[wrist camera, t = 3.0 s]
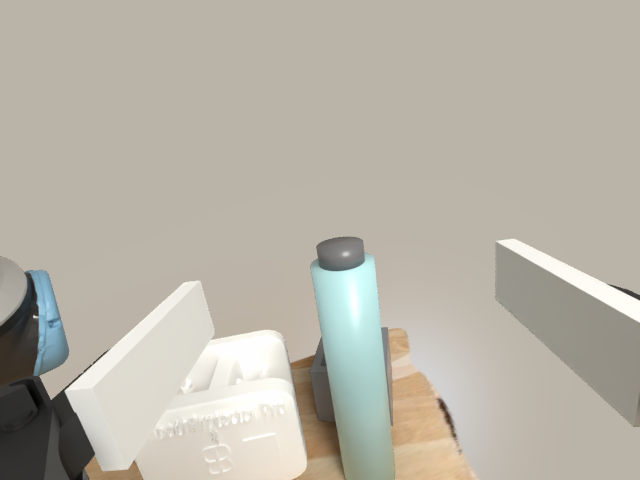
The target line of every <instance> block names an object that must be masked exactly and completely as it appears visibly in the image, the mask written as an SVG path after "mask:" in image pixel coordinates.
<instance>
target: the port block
mask: <svg viewBox="0 0 640 480" xmlns="http://www.w3.org/2000/svg"><path fill="white" fill-rule="evenodd" d="M381 332H382V342H383V352H384V362H385V372H386V382H387V392H388V402H389V412H390V422H391V425H392V426H393V409H392V366H391V356H390V346H389V336H388V328H381ZM309 373H310V378H311V383H312V388H313V394H314V399H315V404H316V409H317V415H318V420H319V421H332V422H336V420H335V414H334V408H333V402H332V396H331V390H330V384H329V378H328V372H327V365H326V359H325V353H324V347H323V341H322V336H321V339H320V342H319V345H318V348H317V351H316V354H315V357H314V360H313V363H312V366H311V369H310V372H309Z"/></svg>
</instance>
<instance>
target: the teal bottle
mask: <svg viewBox="0 0 640 480" xmlns="http://www.w3.org/2000/svg"><path fill="white" fill-rule="evenodd" d="M316 248H317V254H318V259H316V260H314V261H313V262H312V264H311V266H310V268H311V274H312V280H313V286H314V292H315V298H316V304H317V310H318V317H319V323H320V329H321V335H322V341H323V347H324V353H325V359H326V365H327V372H328V378H329V384H330V390H331V396H332V402H333V408H334V414H335V420H336V427H337V433H338V439H339V445H340V451H341V457H342V463H343V469H344V475H345V479H346V480H395V462H394V452H393V442H392V432H391V422H390V412H389V402H388V392H387V382H386V372H385V362H384V352H383V342H382V332H381V323H380V313H379V303H378V292H377V282H376V273H375V262H374V257H373V256H372V255H370V254H368V253H365V252H364V246H363V240H361V239H360V238H356V237H338V238H333V239H329V240H325V241H323V242H321V243H319V244H318V245H317V247H316Z"/></svg>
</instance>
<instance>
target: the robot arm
mask: <svg viewBox="0 0 640 480" xmlns="http://www.w3.org/2000/svg"><path fill="white" fill-rule="evenodd" d="M495 288H496V289H495V291H496V292H495V294H496V295H495V298H496V300H497V301H498V302H499V303H500V304H501V305H502V306H503V307H504V308H505V309H507V310H508V311H509V312H510V313H511V314H512V315H513V316H514V317H515V318H516V319H517V320H519V321H520V322H521V323H522V324H523V325H524V326H525V327H526V328H527V329H528V330H529V331H530V332H531V333H533V334H534V335H535V336H536V337H537V338H538V339H539V340H540V341H541V342H543V343H544V344H545V345H546V346H547V347H548V348H549V349H550V350H551V351H552V352H553V353H554V354H555V355H556V356H558V357H559V358H560V359H561V360H562V361H563V362H564V363H565V364H566V365H567V366H568V367H570V368H571V369H572V370H573V371H574V372H575V373H576V374H577V375H578V376H579V377H580V378H581V379H582V380H584V381H585V382H586V383H587V384H588V385H589V386H590V387H591V388H592V389H593V390H594V391H596V392H597V393H598V394H599V395H600V396H601V397H602V398H603V399H604V400H605V401H606V402H608V403H609V404H610V405H611V406H612V407H613V408H614V409H615V410H616V411H617V412H618V413H619V414H621V415H622V416H623V417H624V418H625V419H626V420H627V421H628V422H629V423H630V424H631V425H632V426H633V427H639V426H640V295H638V294H636V293H634V292H632V291H629V290H627V289H623V288H619V287H616V286H613V285H609V284H605V283H603V282H601V281H599V280H597V279H595V278H593V277H591V276H589V275H587V274H585V273H583V272H581V271H579V270H577V269H575V268H572V267H571V266H569V265H567V264H564V263H563V262H560V261H558V260H556V259H554V258H552V257H550V256H548V255H546V254H544V253H542V252H540V251H538V250H536V249H534V248H532V247H530V246H528V245H526V244H524V243H522V242H520V241H518V240H516V239H508V240H500V241H496V283H495ZM214 333H215V331H214V327H213V324H212V320H211V317H210V313H209V310H208V306H207V303H206V299H205V296H204V292H203V289H202V285H201V282H200V281H192V282H185V283H183V284H182V285H181V286H180V287H179V288H178V289H177V290H176V291H174V292H173V293H172V294H171V295H170V296H169V297H168V298H167V299H166V300H164V301H163V302H162V303H161V304H160V305H159V306H158V307H157V308H156V309H154V310H153V311H152V312H151V313H150V314H149V315H148V316H147V317H146V318H145V319H143V320H142V321H141V322H140V323H139V324H138V325H137V326H136V327H135V328H133V329H132V330H131V331H130V332H129V333H128V334H127V335H126V336H125V337H124V338H122V339H121V340H120V341H119V342H118V343H117V344H116V345H115V346H114V347H112V348H111V349H109V350H108V351H106V352H105V353H103V355H101V356H100V357H99V358H98V359H97V360H96V361H95V362H94V363H93V365H90V366H89V367H88V368H87V369H86V370H84V373H82V374H80V375H79V376H78V377H77V378H76V379H74V380H73V381H72V382H71V383H70V384H69V385H68V386H67V387H65V389H63V390H62V391H61V392H60V393H59V394H58V395H57V396H56V397H54V398H53V399H52V400H50V397H49V395H48V393H47V391H46V389H45V387H44V385H43V383H42V381H41V379H40V377H39V376H40V375H42V374H44V373H46V372H48V371H50V370H53V369H55V368H57V367H59V366H60V365H62V364H63V363H64V362H65V360H66V359H67V358H68V355H69V348H68V344H67V340H66V336H65V332H64V329H63V325H62V321H61V317H60V314H59V310H58V306H57V303H56V299H55V296H54V292H53V288H52V285H51V281H50V277H49V274H48V273H47V272H46V271H43V270H36V271H34V270H30V271H26V272H23V270H22V269H21V268H20V267H19V266H18V265H17V264H16V263H15V262H13V261H11V260H9V259H7V258H4V257H1V256H0V480H89V477H88V475H87V473H86V471H85V469H84V468H85V467H86V465H87V464H88V463H89V462H90V460H91V459H92V458H93V456H94V455H95V457H96V459H97V461H98V464H99V466H100V468H101V470H102V471H114V470H126V469H128V468H129V467H130V465H131V464H132V462H133V461H134V459H135V457H136V456H137V454H138V453H139V451H140V450H141V448H142V446H143V445H144V443H145V442H146V440H147V439H148V437H149V435H150V434H151V432H152V431H153V429H154V428H155V426H156V424H157V423H158V421H159V420H160V418H161V417H162V415H163V413H164V412H165V410H166V409H167V407H168V406H169V404H170V402H171V401H172V399H173V398H174V396H175V395H176V393H177V391H178V390H179V388H180V387H181V385H182V384H183V382H184V380H185V379H186V377H187V376H188V374H189V373H190V371H191V369H192V368H193V366H194V365H195V363H196V362H197V360H198V358H199V357H200V355H201V354H202V352H203V351H204V349H205V348H206V346H207V344H208V343H209V341H210V340H211V338H212V337H213V335H214Z"/></svg>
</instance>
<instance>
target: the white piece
mask: <svg viewBox="0 0 640 480" xmlns="http://www.w3.org/2000/svg"><path fill="white" fill-rule="evenodd" d="M135 461H136V464H137V466H138V468H139V471H140V473H141V475H142V478H143V480H293V479H295V478H297V477H298V476H300V475H301V474H302V473H303V472H304V471H305V470H306V468H307V450H306V444H305V439H304V435H303V430H302V425H301V420H300V416H299V411H298V406H297V401H296V391H295V386H294V381H293V376H292V371H291V367H290V362H289V357H288V353H287V348H286V343H285V339H284V337H283V336H282V335H281V334H280V333H279V332H277V331H273V330H262V331H256V332H251V333H246V334H241V335H235V336H230V337H225V338H219V339H215V340H210V341H209V343H208V344H207V346H206V348H205V349H204V351H203V352H202V354H201V355H200V357H199V358H198V360H197V362H196V363H195V365H194V366H193V368H192V369H191V371H190V373H189V374H188V376H187V377H186V379H185V380H184V382H183V384H182V385H181V387H180V388H179V390H178V391H177V393H176V395H175V396H174V398H173V399H172V401H171V402H170V404H169V406H168V407H167V409H166V410H165V412H164V413H163V415H162V417H161V418H160V420H159V421H158V423H157V424H156V426H155V428H154V429H153V431H152V432H151V434H150V435H149V437H148V439H147V440H146V442H145V443H144V445H143V446H142V448H141V450H140V451H139V453H138V454H137V456H136V457H135Z"/></svg>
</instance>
